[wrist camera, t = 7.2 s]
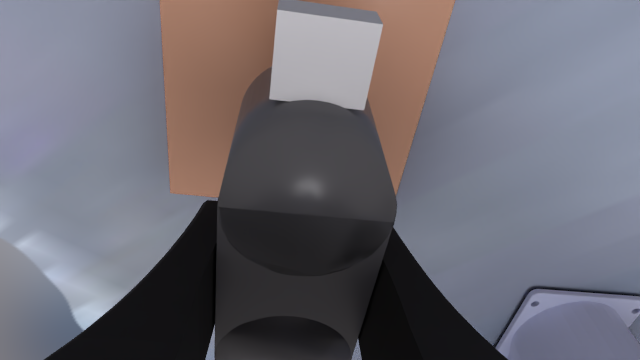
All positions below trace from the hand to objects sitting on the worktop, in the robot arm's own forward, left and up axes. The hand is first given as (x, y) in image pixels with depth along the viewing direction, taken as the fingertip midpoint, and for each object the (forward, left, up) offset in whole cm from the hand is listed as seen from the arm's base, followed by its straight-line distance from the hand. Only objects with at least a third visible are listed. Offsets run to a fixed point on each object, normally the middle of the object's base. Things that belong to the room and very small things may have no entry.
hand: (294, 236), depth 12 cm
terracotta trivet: (0, 0, -9) cm, 9 cm away
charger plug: (0, 0, -2) cm, 2 cm away
